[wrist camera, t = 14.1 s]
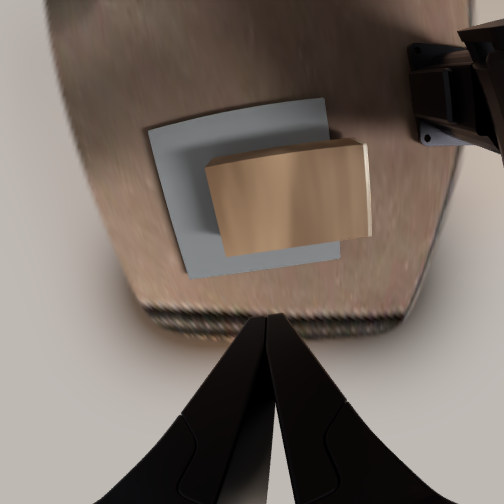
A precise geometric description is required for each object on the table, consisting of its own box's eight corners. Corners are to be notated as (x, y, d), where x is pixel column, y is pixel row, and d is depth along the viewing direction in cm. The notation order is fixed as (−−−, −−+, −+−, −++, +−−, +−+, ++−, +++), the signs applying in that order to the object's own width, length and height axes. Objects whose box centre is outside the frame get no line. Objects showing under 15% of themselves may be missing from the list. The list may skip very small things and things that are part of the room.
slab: (212, 158, 17) (353, 137, 16) (230, 237, 19) (359, 218, 18) (204, 167, 15) (366, 144, 14) (226, 257, 17) (371, 236, 16)
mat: (322, 97, 16) (323, 97, 15) (338, 254, 20) (340, 258, 20) (151, 129, 17) (147, 130, 16) (191, 274, 21) (189, 279, 21)
